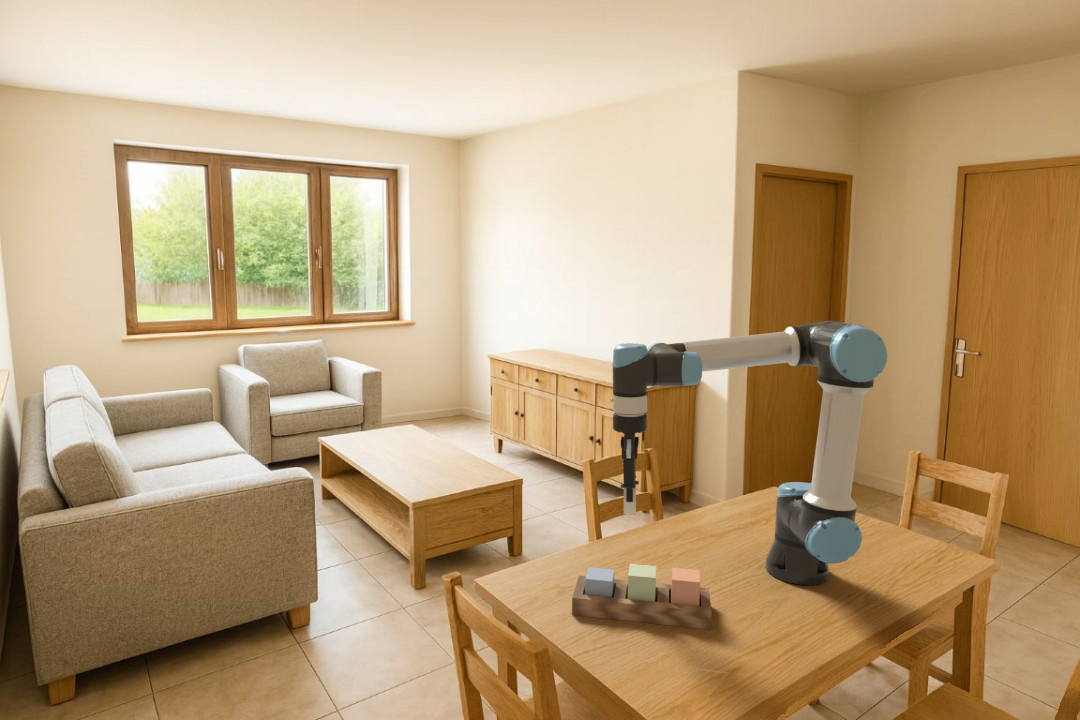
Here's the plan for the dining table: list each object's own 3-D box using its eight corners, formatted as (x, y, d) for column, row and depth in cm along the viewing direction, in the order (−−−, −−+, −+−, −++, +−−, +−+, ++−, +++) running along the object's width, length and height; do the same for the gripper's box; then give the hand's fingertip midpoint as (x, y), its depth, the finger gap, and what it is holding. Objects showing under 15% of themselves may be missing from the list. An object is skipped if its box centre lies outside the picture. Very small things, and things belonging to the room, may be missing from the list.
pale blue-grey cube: (613, 598, 161) (614, 569, 160) (611, 610, 156) (612, 581, 155) (587, 595, 163) (588, 567, 162) (584, 608, 157) (585, 578, 156)
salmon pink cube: (697, 599, 158) (699, 570, 157) (698, 612, 152) (700, 582, 151) (670, 596, 159) (672, 567, 158) (670, 609, 153) (672, 579, 152)
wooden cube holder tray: (708, 604, 160) (709, 588, 159) (710, 629, 149) (711, 612, 149) (578, 591, 166) (578, 575, 165) (571, 614, 155) (572, 597, 154)
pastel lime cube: (655, 595, 159) (656, 566, 158) (654, 607, 154) (655, 578, 153) (628, 592, 161) (629, 563, 160) (627, 605, 155) (628, 575, 154)
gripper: (614, 406, 163) (615, 502, 167) (610, 419, 150) (611, 523, 154) (647, 406, 162) (646, 504, 165) (646, 420, 149) (645, 525, 153)
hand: (629, 513), depth 160 cm, fingers closed
